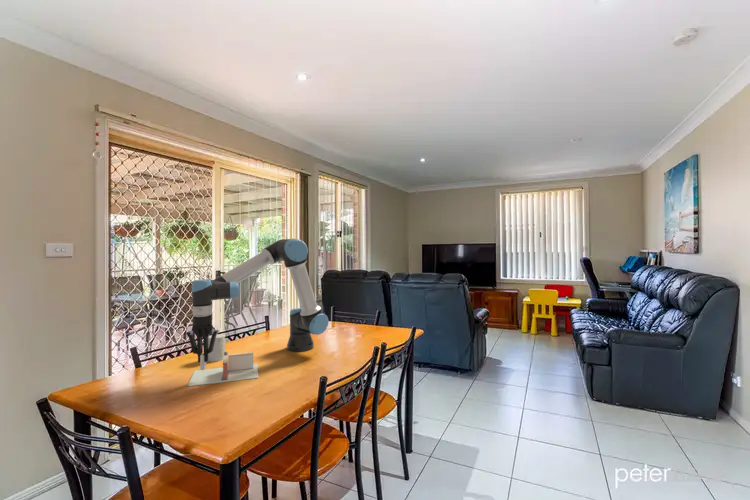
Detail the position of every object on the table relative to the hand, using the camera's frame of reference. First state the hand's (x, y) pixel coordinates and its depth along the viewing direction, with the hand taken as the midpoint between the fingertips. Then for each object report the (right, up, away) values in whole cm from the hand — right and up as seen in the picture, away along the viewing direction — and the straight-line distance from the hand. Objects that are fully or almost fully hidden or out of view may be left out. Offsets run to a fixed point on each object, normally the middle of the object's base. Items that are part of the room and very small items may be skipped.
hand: (203, 369), depth 153 cm
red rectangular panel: (+8, -4, +5) cm, 10 cm away
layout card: (+7, -5, +7) cm, 11 cm away
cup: (-8, -5, +30) cm, 31 cm away
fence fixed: (+10, -5, +13) cm, 17 cm away
